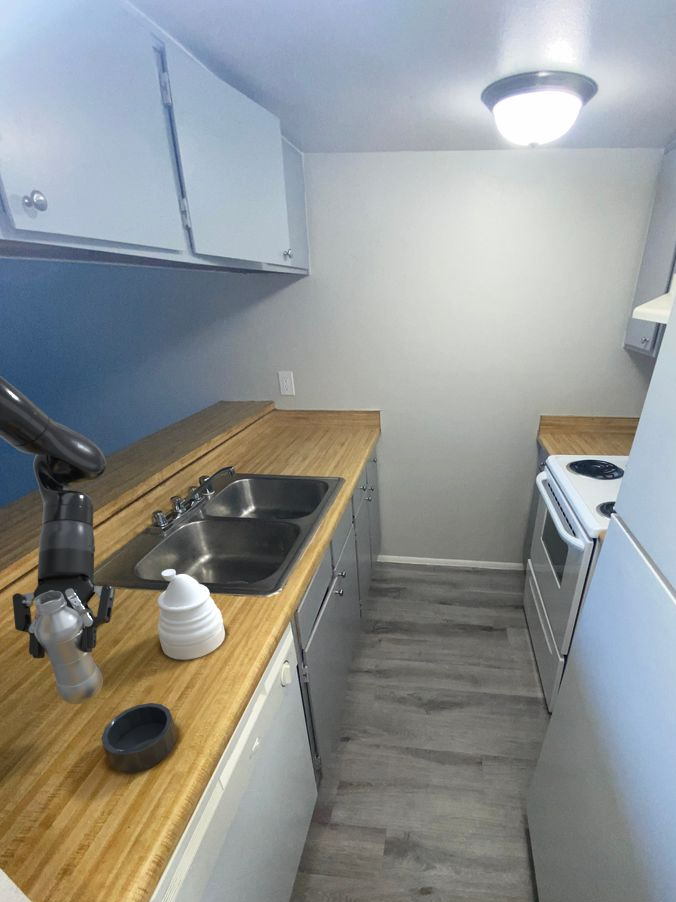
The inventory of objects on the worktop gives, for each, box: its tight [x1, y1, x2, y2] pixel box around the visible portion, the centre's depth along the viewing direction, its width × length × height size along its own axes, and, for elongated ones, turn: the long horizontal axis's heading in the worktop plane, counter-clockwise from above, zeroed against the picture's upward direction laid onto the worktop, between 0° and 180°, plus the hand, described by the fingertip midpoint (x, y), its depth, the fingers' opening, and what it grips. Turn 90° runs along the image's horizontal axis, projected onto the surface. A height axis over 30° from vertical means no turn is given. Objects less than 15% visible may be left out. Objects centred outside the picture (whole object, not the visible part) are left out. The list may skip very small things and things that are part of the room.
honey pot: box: [157, 568, 226, 661], centre depth 100 cm, size 13×13×18 cm
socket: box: [100, 702, 178, 774], centre depth 79 cm, size 10×10×4 cm
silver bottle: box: [33, 591, 104, 705], centre depth 76 cm, size 6×7×20 cm
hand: (63, 654), depth 74 cm, fingers closed on silver bottle, 6 cm apart
